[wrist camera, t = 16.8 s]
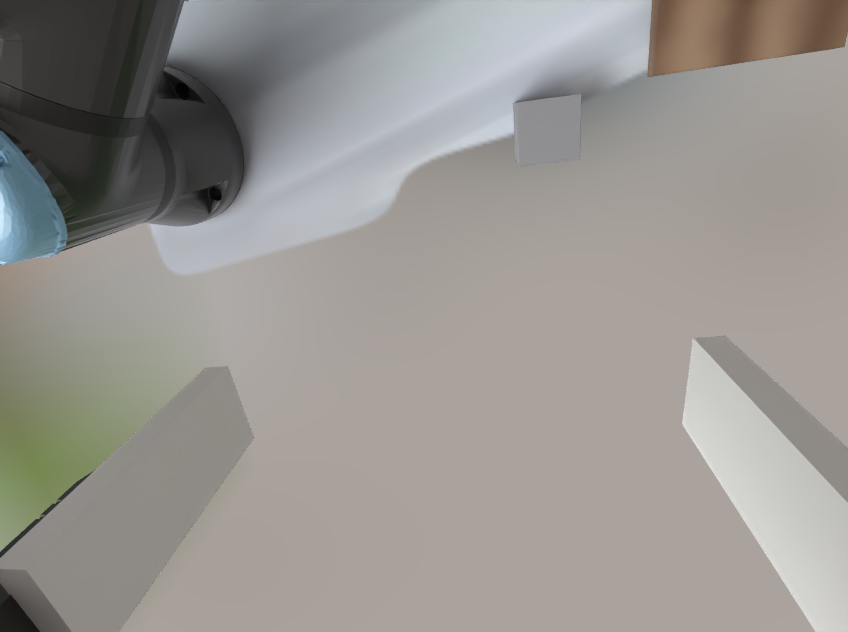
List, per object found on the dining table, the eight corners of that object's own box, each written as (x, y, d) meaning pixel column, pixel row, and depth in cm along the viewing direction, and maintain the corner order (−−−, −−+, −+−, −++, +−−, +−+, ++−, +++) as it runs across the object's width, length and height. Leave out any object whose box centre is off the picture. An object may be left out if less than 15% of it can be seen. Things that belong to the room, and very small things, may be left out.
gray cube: (515, 160, 42) (519, 166, 38) (513, 103, 40) (517, 102, 36) (569, 154, 42) (579, 159, 37) (570, 95, 40) (581, 93, 35)
